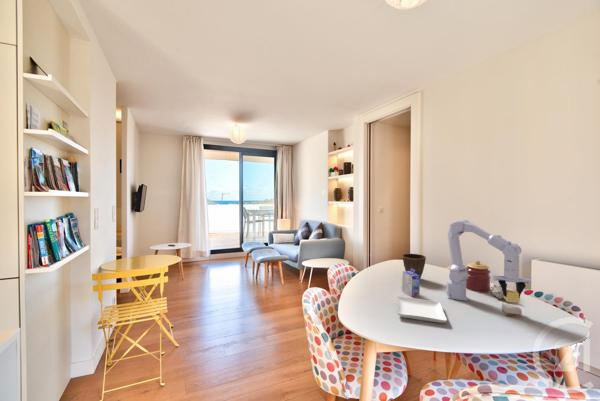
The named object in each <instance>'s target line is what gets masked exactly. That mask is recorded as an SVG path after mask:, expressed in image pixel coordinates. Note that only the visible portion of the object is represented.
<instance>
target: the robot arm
mask: <svg viewBox="0 0 600 401" xmlns="http://www.w3.org/2000/svg"><path fill="white" fill-rule="evenodd" d="M465 232H466V233H472V234H474V235H477V236H478V237H480V238H483V239H484V240H486V241H487V243H488V244H489V245H490V246H492V247H494V248H495V249H497V250H499V251H500V252H502V255H504V262H503V264H504V265H503V275H492V280H493V281H497V282H498V285H500V286H501V288H502V291H503V295H504V296H505V297H506V295H507V294H506V289H507V288H508V284H507V282H509V283H515V290H516V291H517V292H518V293H519V299H520V298H521V295H522V292H523V291H524V289H525V288H526V286H527V285H526V284H528V285H532V280H531V279H529V278H524V277H520V254H521V253H522V248H521V246H520V245H518V243H512V241H510V240H506V239H504V238H503V237H502V235H500V234H490V233H489V232H487V231H486V230H484V229H482V228H481V227H479V226H478V225H476V224H475V223H474V222H471V221H469V220H468V219H462V220H454V221H453V222H451V223H450V224H449V229H448V231H447V238H448V239H447V240H448V246H449V253H450V261H451V266H450V268H449V274H448V277H449V280H447V281H446V296H447V298H448V299H451V300H458V301H465V302H468V301H469V299H468V297H467V288H466V279H468V277H469V275H468V272H467V271H466V267H467V266H465V265H464V262H463V257H462V256H463V255H462V248H461V243H460V242H461V241H460V236H462V235H463V234H464V233H465Z"/></svg>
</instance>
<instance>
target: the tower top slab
mask: <svg viewBox="0 0 600 401" xmlns="http://www.w3.org/2000/svg"><path fill="white" fill-rule="evenodd" d="M502 308H503V310H504V311H505V312H506V313H512V314H520V315H521V316H522V315H523V314H522V309H521V308H520V307H519V305H518V304H510V303H504V302H503V303H501V309H502Z"/></svg>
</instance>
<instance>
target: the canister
mask: <svg viewBox="0 0 600 401" xmlns="http://www.w3.org/2000/svg"><path fill="white" fill-rule="evenodd" d="M465 267H466V271H467V272H468V275H469V277H468V279H466V290H467V289H468V290H469V291H473V292H478V293H488V292H491V291H490V290H491V276H490V273H491V270H489V269H490V268H489V266H488V265H486V264H484V263H482V262H481V261H480V260H475V261H474V262H469V263H467V264H466V266H465Z"/></svg>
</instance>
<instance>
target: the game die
mask: <svg viewBox="0 0 600 401" xmlns="http://www.w3.org/2000/svg"><path fill="white" fill-rule="evenodd" d="M490 289H491V291H489V292H490V294H493V297H496V298H498V300H499V301H500V300H501V299H505V298H504V295H503V291H502V288H501V286H500V284H497V285H496V284H493V286H490Z"/></svg>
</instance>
